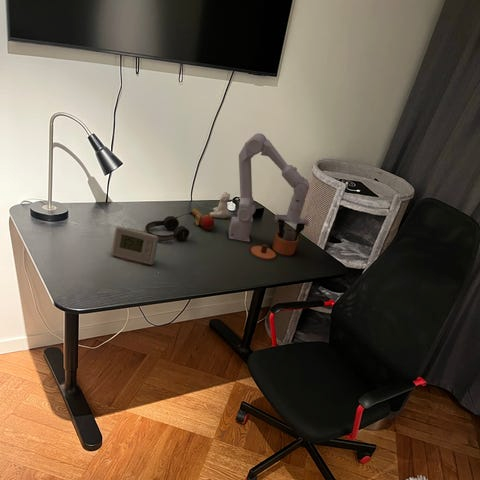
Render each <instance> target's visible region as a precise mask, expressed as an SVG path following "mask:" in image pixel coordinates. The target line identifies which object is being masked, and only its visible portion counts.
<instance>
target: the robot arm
mask: <svg viewBox="0 0 480 480" xmlns="http://www.w3.org/2000/svg"><path fill="white" fill-rule="evenodd" d="M258 154H260V156H265V157H268V158H269V159H270V160H271V161H272V162H273V163H274V164H275V165H276V166H277V167H278V169H280V171H281V176H282V178H283V179H284V180H285V182H287V184H288V185H289V186H290V187H291V188H292V189H293V194H292V196H291V198H290V202H289V205H288V208H287V212H286V214H278V213H277V214H275V217H274V221H277V223H278V232H279V237H281V235H282V231H283V228H284V227H285V225H286V224H285V222H286V223H291V224H294V225H295V224H296V226H295V229H294V231H295V232H296V237H295V240H296V238H297V237H298V236H299V235H300V233H302V232H303V231H304V230H305V228H306V227H309V224H310V221H309V220H308V219H304V218H302V217H301V216H302V212H303V209H304V207H305V206H304V205H305V202H306V199H307V195H308V193H309V189H310V183H309V180H308V179H307V178H305V177H304V176H302V175H301V174H300V172H299V171H298V168H297V167H296V166H293V164H288V163H287V162H286V161H285V159H284V158H283V157H282V155H281V154H280V153H279V151H278V150H277V148H276V147H275V146H274V145H273V143H272V142H271V141H270V140H269V139H268V138H267V136H265V134H264V133H259V132H257V133H255V134H254V135H253V136H251V137H250V138H249V139H248V140H247V141H246V142H245V143H244V145H243V147H242V148H241V150H240V152H239V153H238V171H239V172H238V173H239V175H238V176H239V194H240V195H239V196H240V197H239V198H240V199H239V203H238V210H237V215H236V216H231V218H230V223H229V227H228V231H227V232H228V238H229V239H232V240H239V241H242V242H243V241H244V242H251V239H250V234H251V230H252V226H253V222H254V218H253V215H254V214H256V210H257V207H256V203H255V202H254V201H255V200H254V197H253V182H252V181H253V179H252V177H253V176H252V158H253V157H254V156H257V155H258Z"/></svg>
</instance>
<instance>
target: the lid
mask: <svg viewBox="0 0 480 480" xmlns="http://www.w3.org/2000/svg"><path fill="white" fill-rule="evenodd" d="M250 252H251V254H252V255H254V256H255V257H256V258H259V259H263V260H273V259H275V258H276V256H277V255H276V251H275V250H274V249H271V248H269V245H268V244H266V243H263V244H262V245H254V246H252V247H251V248H250Z"/></svg>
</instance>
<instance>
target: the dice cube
mask: <svg viewBox="0 0 480 480" xmlns="http://www.w3.org/2000/svg"><path fill="white" fill-rule="evenodd" d="M295 237H296V232H295V229H294V228H292V227H285V226H284V228H283V231H282V235H281V237H280V238H281V239H283V240H286V241H294V240H295Z"/></svg>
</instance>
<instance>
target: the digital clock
mask: <svg viewBox="0 0 480 480" xmlns="http://www.w3.org/2000/svg"><path fill="white" fill-rule="evenodd" d="M156 235H157V234H156ZM156 235H152V234H148V233H146V232H145V231H143V230H138V229H134V228H130V227H124V226H119V225H117V226H116V227H115V229H114V234H113V240H112V245H111V249H110V250H111V252H110V254H111V255H112V256H113V257H117V258H120V259H122V260H127V261H131V262H135V263H139V264H142V265H143V264H145V265H150V266H152V265H154V263H155V258H156V253H157V248H158V243H159V241H158V236H156Z"/></svg>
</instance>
